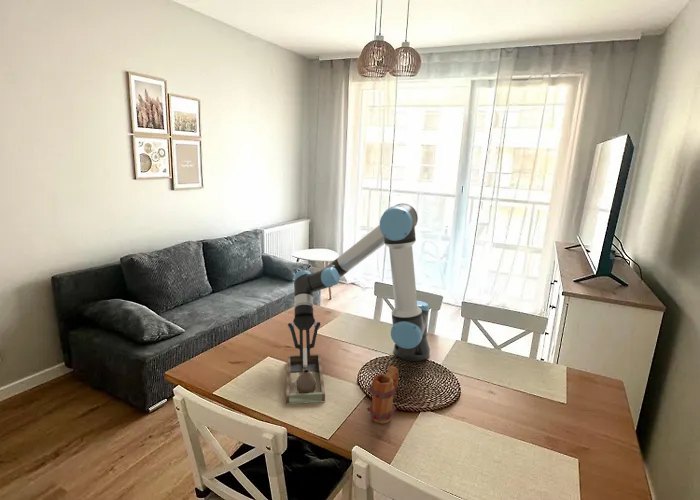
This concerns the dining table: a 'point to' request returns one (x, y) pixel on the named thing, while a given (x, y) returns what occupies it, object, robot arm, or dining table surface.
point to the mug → (383, 395)
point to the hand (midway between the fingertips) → (305, 366)
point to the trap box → (297, 366)
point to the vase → (306, 382)
